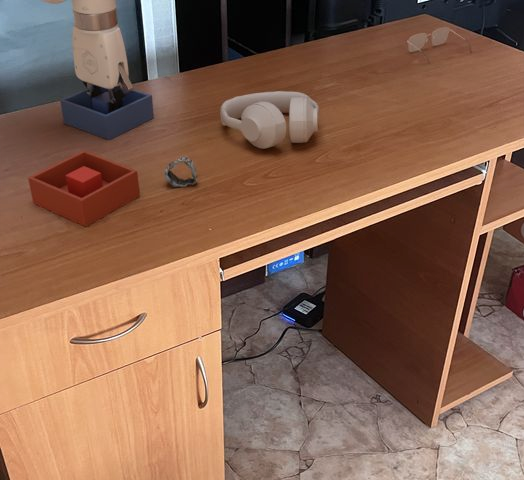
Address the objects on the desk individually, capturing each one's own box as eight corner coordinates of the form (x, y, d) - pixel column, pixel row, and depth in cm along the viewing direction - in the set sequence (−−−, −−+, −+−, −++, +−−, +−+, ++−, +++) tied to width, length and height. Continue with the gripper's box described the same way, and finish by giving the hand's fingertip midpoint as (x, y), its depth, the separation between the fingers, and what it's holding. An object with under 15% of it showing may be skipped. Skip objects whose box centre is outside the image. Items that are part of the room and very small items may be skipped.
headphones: (338, 144, 143) (299, 116, 159) (339, 101, 138) (298, 76, 154) (242, 159, 138) (211, 128, 154) (239, 114, 134) (208, 87, 150)
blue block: (94, 118, 151) (91, 98, 149) (109, 111, 154) (106, 91, 151) (108, 123, 149) (106, 103, 147) (123, 116, 152) (121, 96, 149)
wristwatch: (183, 187, 135) (162, 167, 132) (204, 170, 132) (183, 150, 129) (181, 197, 132) (159, 178, 130) (202, 181, 130) (180, 161, 127)
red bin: (33, 203, 127) (27, 177, 124) (88, 174, 135) (84, 149, 132) (85, 226, 122) (81, 200, 119) (140, 195, 129) (137, 170, 126)
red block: (69, 197, 128) (65, 175, 125) (87, 187, 130) (83, 165, 128) (86, 204, 126) (82, 182, 123) (104, 194, 128) (101, 172, 126)
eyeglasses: (448, 42, 186) (451, 25, 183) (472, 54, 182) (476, 37, 179) (404, 53, 180) (407, 36, 177) (428, 67, 176) (431, 49, 173)
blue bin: (63, 123, 151) (59, 100, 148) (109, 102, 158) (106, 80, 155) (109, 140, 145) (106, 116, 142) (154, 118, 153) (151, 95, 150)
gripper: (48, 15, 141) (64, 112, 153) (114, 34, 133) (126, 135, 145) (78, 4, 146) (92, 100, 157) (145, 22, 138) (154, 121, 150)
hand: (108, 116), depth 151 cm, fingers closed on blue block, 4 cm apart
